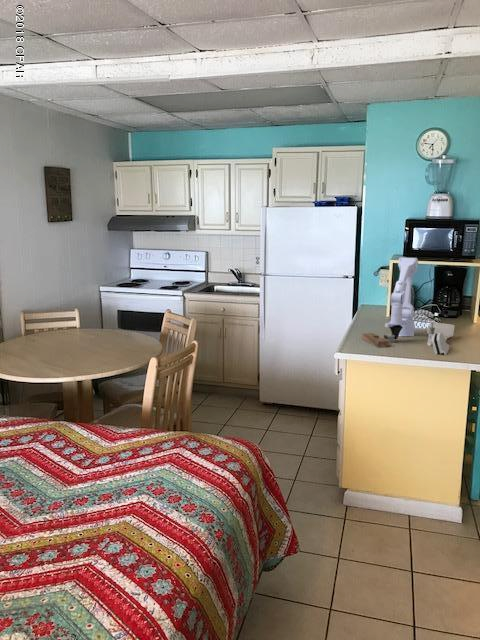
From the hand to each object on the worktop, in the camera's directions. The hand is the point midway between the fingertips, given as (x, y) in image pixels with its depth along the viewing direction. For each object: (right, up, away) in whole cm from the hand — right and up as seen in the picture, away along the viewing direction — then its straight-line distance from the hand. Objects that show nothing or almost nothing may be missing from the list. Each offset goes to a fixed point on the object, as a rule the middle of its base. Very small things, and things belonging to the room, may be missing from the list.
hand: (395, 338), depth 288 cm
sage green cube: (-3, -2, 0) cm, 4 cm away
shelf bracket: (+25, -2, +1) cm, 25 cm away
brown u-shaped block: (-11, -2, -2) cm, 12 cm away
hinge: (+18, -6, -18) cm, 26 cm away
